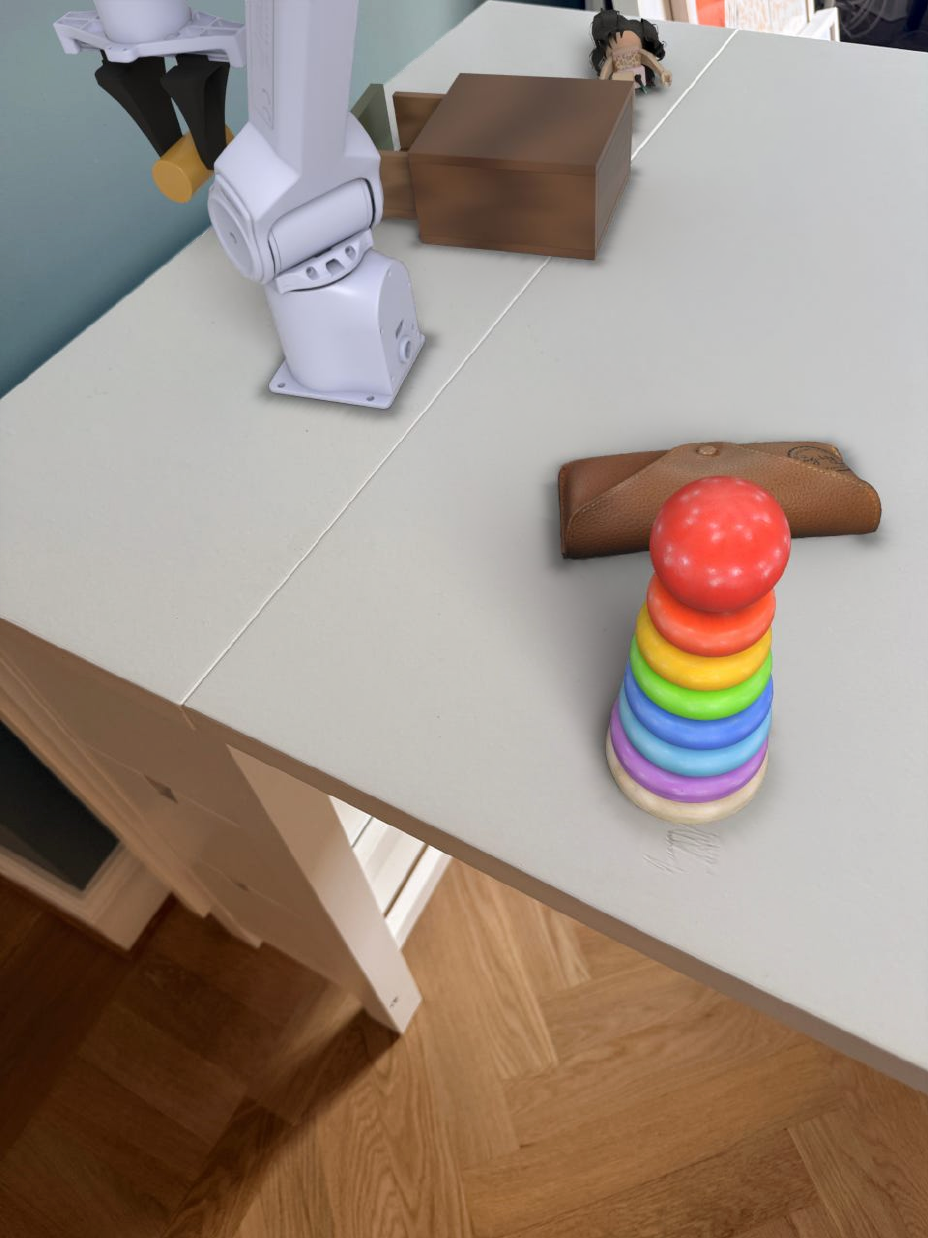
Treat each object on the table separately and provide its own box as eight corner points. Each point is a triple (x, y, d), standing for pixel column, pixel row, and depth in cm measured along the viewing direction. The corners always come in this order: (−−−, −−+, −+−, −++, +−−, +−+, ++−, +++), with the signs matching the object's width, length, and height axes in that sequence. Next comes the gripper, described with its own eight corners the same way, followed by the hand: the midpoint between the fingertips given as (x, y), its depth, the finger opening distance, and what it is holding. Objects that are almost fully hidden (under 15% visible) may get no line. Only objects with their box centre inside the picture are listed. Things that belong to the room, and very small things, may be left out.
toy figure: (681, 130, 83) (658, 45, 91) (678, 58, 78) (654, -25, 86) (601, 148, 84) (585, 63, 93) (593, 79, 79) (577, -5, 87)
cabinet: (421, 243, 77) (406, 152, 71) (469, 161, 83) (459, 72, 77) (595, 260, 73) (595, 165, 67) (630, 173, 79) (634, 80, 73)
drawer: (283, 215, 80) (264, 148, 75) (335, 146, 86) (321, 80, 81) (485, 234, 75) (479, 164, 70) (525, 159, 81) (521, 90, 76)
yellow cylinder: (241, 159, 71) (228, 116, 68) (197, 205, 68) (183, 163, 65) (205, 154, 72) (192, 112, 69) (161, 200, 69) (145, 157, 66)
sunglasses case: (837, 435, 58) (876, 402, 52) (851, 546, 58) (892, 526, 51) (551, 464, 60) (553, 434, 53) (560, 572, 59) (564, 556, 52)
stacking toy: (799, 765, 47) (902, 512, 31) (683, 863, 44) (734, 641, 29) (685, 664, 51) (727, 398, 36) (573, 749, 48) (568, 503, 33)
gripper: (-10, -33, 58) (85, 178, 69) (185, -23, 53) (253, 200, 64) (57, -78, 61) (137, 129, 72) (245, -72, 57) (300, 147, 68)
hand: (195, 160), depth 69 cm, fingers closed on yellow cylinder, 3 cm apart
